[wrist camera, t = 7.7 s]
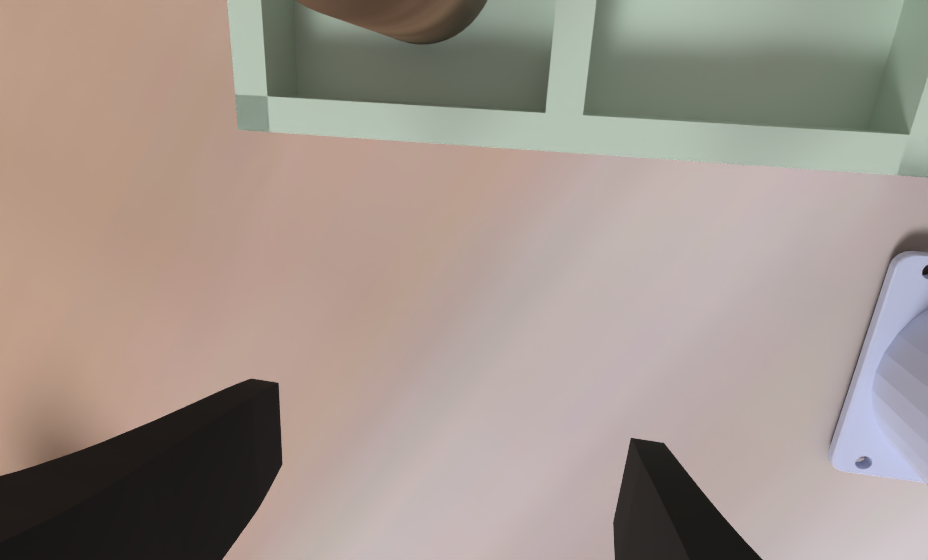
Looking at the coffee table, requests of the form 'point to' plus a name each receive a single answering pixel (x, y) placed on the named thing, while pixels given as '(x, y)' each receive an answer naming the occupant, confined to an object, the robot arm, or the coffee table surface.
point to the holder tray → (608, 80)
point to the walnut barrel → (404, 16)
